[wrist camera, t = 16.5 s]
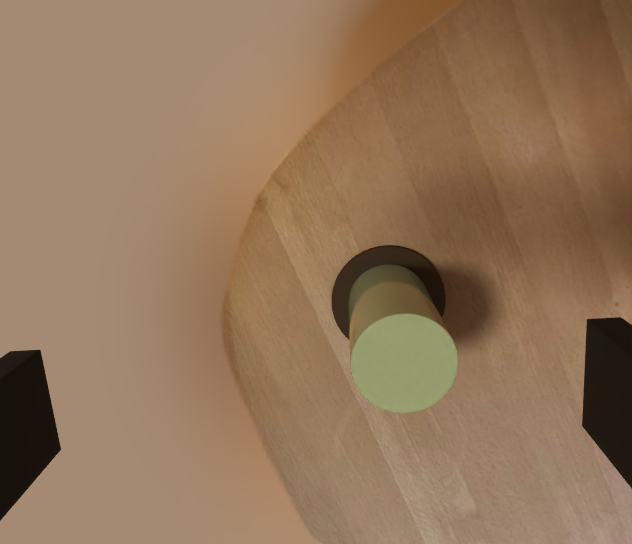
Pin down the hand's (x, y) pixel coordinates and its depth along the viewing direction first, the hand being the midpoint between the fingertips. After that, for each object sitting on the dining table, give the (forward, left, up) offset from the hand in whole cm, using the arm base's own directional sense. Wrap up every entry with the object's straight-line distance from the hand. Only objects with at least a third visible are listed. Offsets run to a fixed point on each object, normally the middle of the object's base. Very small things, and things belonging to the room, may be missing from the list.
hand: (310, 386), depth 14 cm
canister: (+8, +4, -31) cm, 33 cm away
